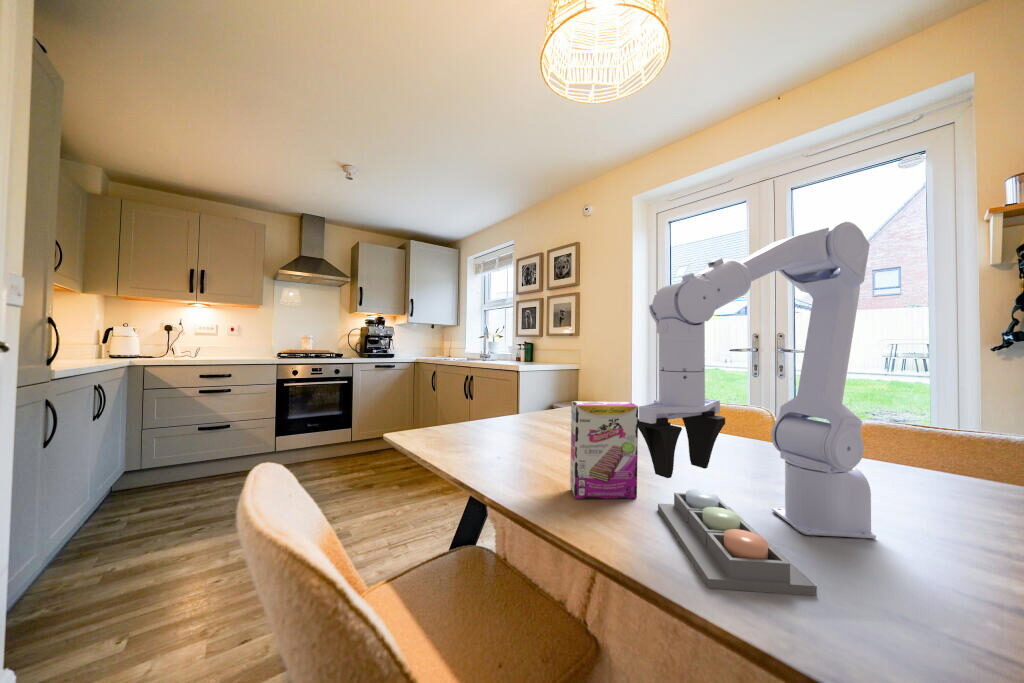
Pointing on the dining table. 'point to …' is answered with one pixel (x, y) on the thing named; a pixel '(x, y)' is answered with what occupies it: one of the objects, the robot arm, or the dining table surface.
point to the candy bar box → (604, 449)
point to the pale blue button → (701, 499)
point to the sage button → (720, 519)
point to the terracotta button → (745, 544)
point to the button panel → (719, 564)
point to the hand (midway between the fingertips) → (681, 470)
